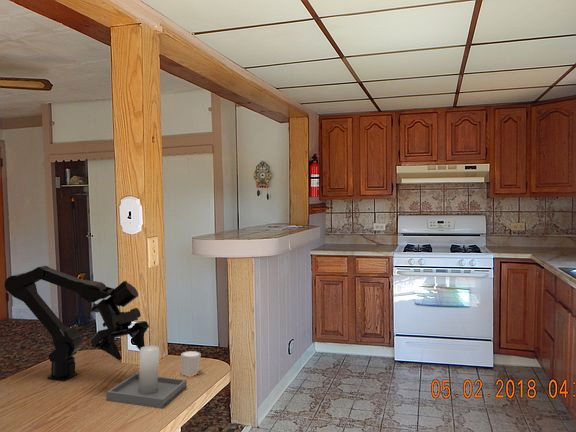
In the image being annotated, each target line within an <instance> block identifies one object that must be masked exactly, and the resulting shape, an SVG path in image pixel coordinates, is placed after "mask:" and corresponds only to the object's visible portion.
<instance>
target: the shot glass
mask: <svg viewBox="0 0 576 432" xmlns="http://www.w3.org/2000/svg"><path fill="white" fill-rule="evenodd" d="M201 355H202V354H201V352H199V351H195V350H189V351H183V352H182V353H181V354H180V361H181V362H180V365H181V375H182V374H183V375H192V374H195V373H197V372H198V371H200V363H201V358H202V357H201ZM198 373H199V372H198ZM183 375H182V376H183Z"/></svg>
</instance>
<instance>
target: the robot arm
mask: <svg viewBox="0 0 576 432" xmlns="http://www.w3.org/2000/svg"><path fill="white" fill-rule="evenodd" d="M41 280H42V281H44V282H47V283H50V284H53V285H55V286H58V287H61V288H63V289H66V290H69V291H72V292H73V293H75V294H76V295H77V296H78V297H80V298H81V299H83V300H85V301H87V302H89V303H93V305H92V307H91V310H90V312H92V313H99V314H100V317H101V319H102V320H103V323H102V326H103V327H102V328H105V327H106V328H105V329H100V330H97V331H96V333H95V334H94V335H93V337H92V338H91V340H90V343H91V346H92V348H93V349H95V348H97V349H98V350H102V351H103V352H105V353H107V354H109V355H110V356H112V357H113V358H114V359H116V360H118V361H121V360H122V359H123V358H122V355H121V352H120V351H119V348H118V346H117V345H116V342H115V339H116V338H119V337H123V336H127V335H129V336H130V337H131V342H132V343H134V345H135V346H136V348H137V349H138V350H139V351H140V349H141V347H144V346H146V345H145V333H146V332H147V331H148V329H149V328H150V325H149V323H148V322H147V321H146V320H141V321H138V320H139V319H138V318H140V317H141V311H140V309H139V308H138V307H134V308H132V309H130V310H129V311H126V312H125V311H121V310H120V308H119V307H124V308H125V307H126V306H127V305H128V304H130V303H131V302H132V301H134V300H135V299H137V298H138V297H139V292H138V290H137V289H136V287H135V286H133V285H132V284H130V283H129V282H128V281H127V280H124V281H122V282H121V283H120V284H119V285H117V287H115V288H113V287H110V286H106V284H105V283H103V282H101V281H96V280H90V279H89V280H88V279H81V278H78V277H75V276H73V275H70V274H67V273H65V272H62V271H59V270H57V269H53V268H51V267H49V266H47V265H40V266H37V267H36V268H34V269H32V270H29V271H27V272H23V273H19V274H13V275H9V276H8V277H6V279H5V282H4V285H3V287H4V289H5V291H6V292H8V293H9V294H10V295H11V296H12V297H13V298H15V299H17V300H19V301H21V302H23V303H24V304H25V306H26V307H27V308H28V309H29V311H30V312H31V313H32V314H33V315H34V316H35V318H36V319H37V320H38V321H39V322H40V323H41V324H42V326H43V327H44V328H45V329H46V330H47V332H48V334H50V336H51V339H52V344H53V347H54V348H55V349H54V350H52V351H51V352H50V353H49V354H48V359H49V362H51V370H50V371H51V372H50V375H48V376H47V379H50V378H51V379H52V380H56V381H57V380H58V381H67V380H68V379H70V378H72V377H74V376H77V375H78V372H76V362H75V359H76V358H75V357H74V355H76V354H77V353H78V350H80V349H81V348H82V347H83V346H82V345H83V338H82V336H83V335H82V334H81V333H79V331H78V330H77V328H76V327H75V326H74V325H73V326H71V327H68V326H66V325H64V323H63V322H62V320H61V319H59V317H58V315H56V313H55V312H54V311H53V310H52V308H50V306H49V305H48V304H47V302H46V301H45V300H44V299H43V298H42V297H41V296H40V294H39V293H38V289H37V284H36V283H37V282H39V281H41ZM98 301H99V302H98ZM95 302H98V303H95ZM134 321H136V322H135V323H134V324H133V323H132V322H134ZM130 326H131V327H130Z"/></svg>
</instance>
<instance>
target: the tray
mask: <svg viewBox="0 0 576 432" xmlns="http://www.w3.org/2000/svg"><path fill="white" fill-rule="evenodd" d="M138 388H139V373H134V374H132V375H130V376H129V377H127V378H126V379H124V380H123V381H121V382H120V383H118V384H117V385H115V386H113V387H112V388H110V389H109V390H107V391H106V397H105V400H106V401H108V402H109V401H110V402H116V403H123V404H130V405H135V406H136V405H137V406H143V407H151V408H159V409H163V408H165V407H166V406H167V405H168V404H169V403H171V402H172V401H173V400H174V399H175V398H177V396H179V395H180V394H181V393H182V392H183V391H185V388H186V389H187V379H182V378H181V379H180V378H173V377H166V376H159V375H158V387H157V391H156V392H155V393H152V394H141V393H139V392H138Z"/></svg>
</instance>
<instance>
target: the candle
mask: <svg viewBox="0 0 576 432" xmlns="http://www.w3.org/2000/svg"><path fill="white" fill-rule="evenodd" d="M139 352H140V353H139V372H138V374H139V388H138V392H139V393H141V394H152V393H155V392H156V391H157V387H158V376H159V367H160V366H159V364H160V363H159V361H160V347H159V346H157V345H145V346H144V347H141V349H140V350H139Z"/></svg>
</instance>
